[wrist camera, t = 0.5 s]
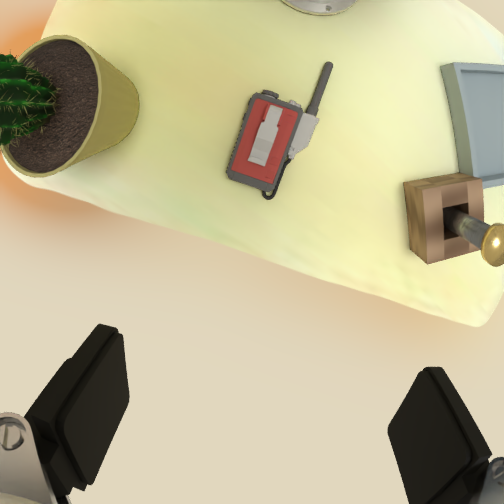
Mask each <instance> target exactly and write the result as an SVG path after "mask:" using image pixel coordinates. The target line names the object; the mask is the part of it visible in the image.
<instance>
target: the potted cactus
mask: <svg viewBox="0 0 504 504" xmlns="http://www.w3.org/2000/svg"><path fill="white" fill-rule="evenodd" d="M15 58H16V57H13V55H11V54H9V55H6V56H5V55H3V54H0V148H1V150H2V153H3V155H4V156H5V158H6V159H7V161H8V162H9V164H10V165H11V166H12V167H13V168H14V169H16V170H17V171H19V172H20V173H22V174H24V175H26V176H30V177H47V176H50V175H54V174H56V173H57V172H59V171H62V170H64V169H66V168H68V167H70V166H71V165H73V164H75V163H77V162H80V161H82V160H84V159H86V158H88V157H90V156H92V155H94V154H96V153H99V152H101V151H103V150H105V149H107V148H110V147H112V146H114V145H116V144H118V143H119V142H120V141H122V140H123V139H124V138H125V137H126V136H127V135H128V134H129V133H130V131H131V130H132V128H133V127H134V125H135V122H136V120H137V117H138V112H139V97H138V93H137V90H136V88H135V86H134V85H133V83H132V82H131V81H130V80H129V79H128V78H127V77H126V76H125V75H124V74H122V73H121V72H120V71H119V70H118V69H116V68H115V67H114V66H113V65H111V64H110V63H109V62H108V61H106V60H105V59H104V58H103V57H102V56H100V55H99V54H98V53H97V52H95V51H94V50H93V49H92V48H91V47H89V46H87V45H86V44H85V43H84V42H82V41H81V40H79V39H77V38H75V37H72V36H68V35H54V36H51V37H47V38H44V39H42V40H40V41H38V42H36V43H35V44H33V45H32V46H31V47H29V48H28V49H27V50H25V51H24V52H23V53H22V54H21V56H20V57H19V58H18V59H15Z"/></svg>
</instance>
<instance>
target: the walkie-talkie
mask: <svg viewBox="0 0 504 504" xmlns="http://www.w3.org/2000/svg"><path fill="white" fill-rule="evenodd" d="M332 68H333V64H332V63H331V62H326V63H325V66H324V69H323V72H322V74H321V77H320V80H319V82H318V85H317V88H316V90H315V93H314V96H313V99H312V101H311V104H310V105H309V106H308V109H307V112H306V113H304V112H303V110H302V108H300V107H301V105H300V104H297V103H296V102H295V101H292V100H290V102H289V103H287V102H284V101H281V100H278V99H277V98H278V97H279V95H278V94H277V93H274V92H272V91H269V90H263V94H260V93H255V94H254V95H253V96H252V98H250V101H249V104H248V105H249V107H248V110H247V113H245V115H244V118H243V120H244V121H243V124H242V126H241V127H242V129H241V130H240V134H239V137H238V138H237V142H236V146H235V147H234V148H235V149H234V151H233V154H232V155H231V156H232V158H231V159H230V163H229V166H228V167H227V171H226V173H227V175H228V178H229V179H231V180H234V181H237V182H240V183H243V184H246V185H249V186H252V187H255V188H258V189H260V190H263V197H264V198H266V199H267V200H270V199H272V198H273V197H274V196H275V194H276V192H277V189H278V186H279V184H280V181H281V178H282V175H283V173H284V170H285V168H286V166H287V164H289V163H290V161H291V159H294V156H295V154H296V153H298V152H299V151H301V150H303V149H304V148H306V147H307V146H308V145H309V142H310V139H311V137H312V134H313V131H314V129H315V126H316V125H317V124H318V121H319V118H316V115H317V112H318V106H319V103H320V101H321V98H322V95H323V92H324V90H325V87H326V84H327V82H328V79H329V76H330V73H331V71H332ZM287 154H288V155H289V156H288V160H287V161H286V162H285V163H284V161H285V160H286V159H285V158H286V157H287ZM282 166H283V167H282ZM273 189H274V191H273V193H272V195H271V196H267V195H266V192H270V191H272V190H273Z"/></svg>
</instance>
